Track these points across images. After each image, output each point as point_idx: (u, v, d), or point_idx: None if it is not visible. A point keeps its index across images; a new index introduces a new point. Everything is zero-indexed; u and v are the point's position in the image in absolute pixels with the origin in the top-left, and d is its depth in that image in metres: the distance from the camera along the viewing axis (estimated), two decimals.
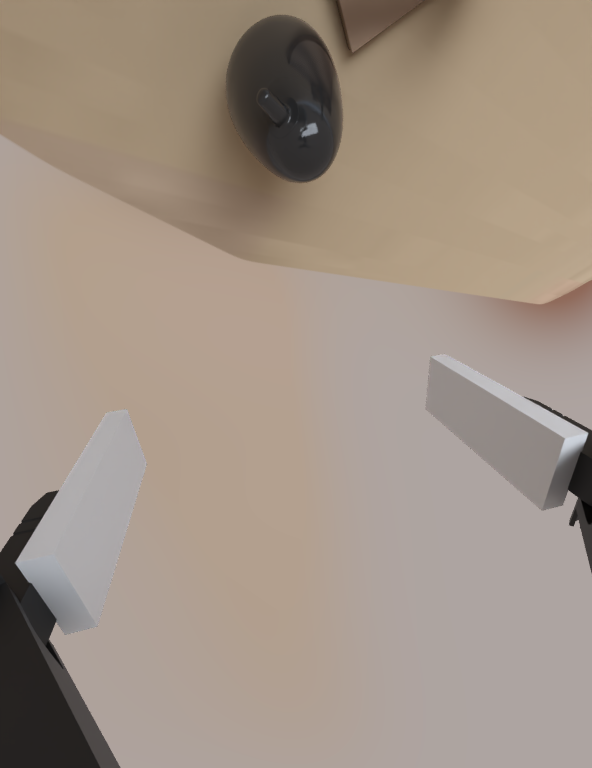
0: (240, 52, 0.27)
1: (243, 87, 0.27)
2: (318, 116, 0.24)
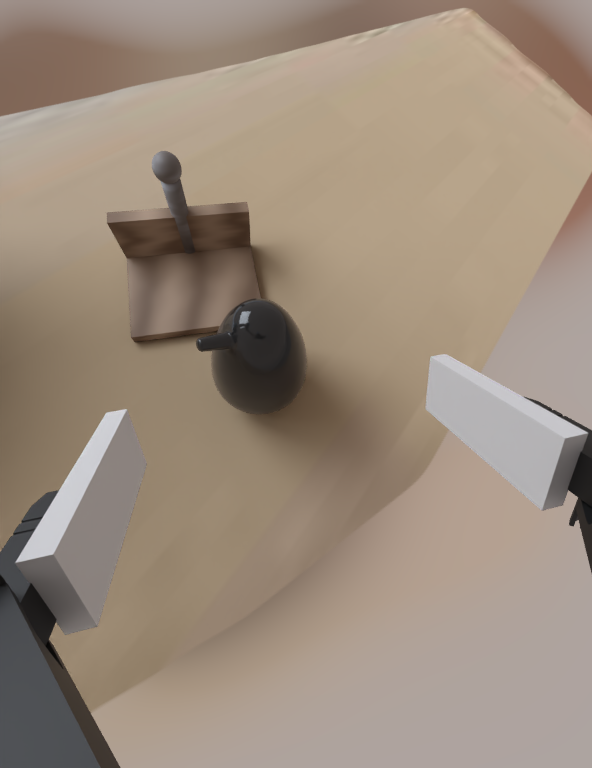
0: (216, 384, 0.34)
1: (223, 382, 0.31)
2: (234, 308, 0.28)
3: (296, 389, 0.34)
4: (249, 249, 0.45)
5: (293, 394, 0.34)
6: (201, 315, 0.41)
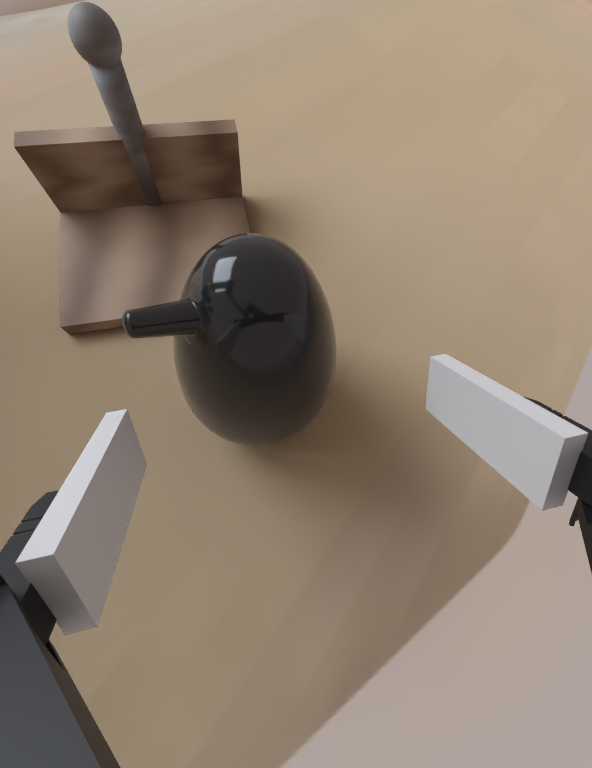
0: (185, 399, 0.20)
1: (193, 396, 0.18)
2: None
3: (320, 405, 0.20)
4: (240, 200, 0.32)
5: (315, 413, 0.21)
6: (170, 293, 0.28)
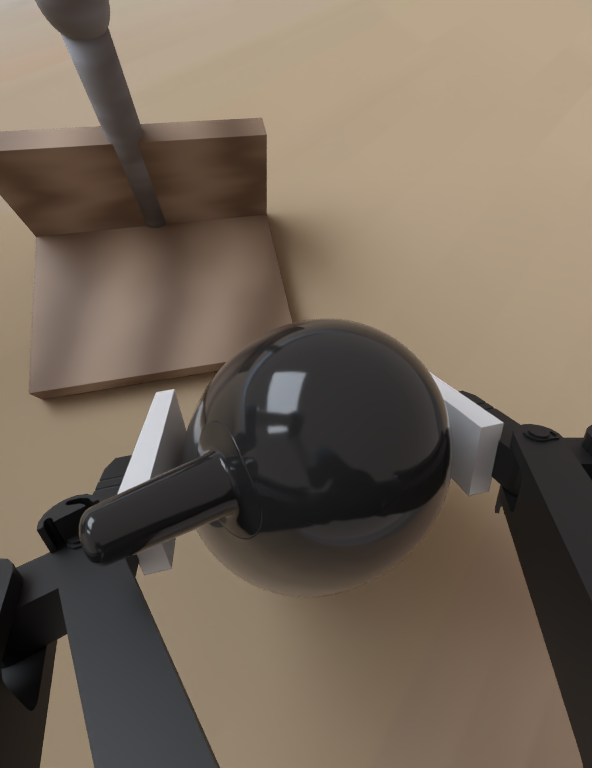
0: None
1: None
2: (246, 360, 0.07)
3: None
4: (264, 219, 0.25)
5: None
6: (175, 344, 0.21)
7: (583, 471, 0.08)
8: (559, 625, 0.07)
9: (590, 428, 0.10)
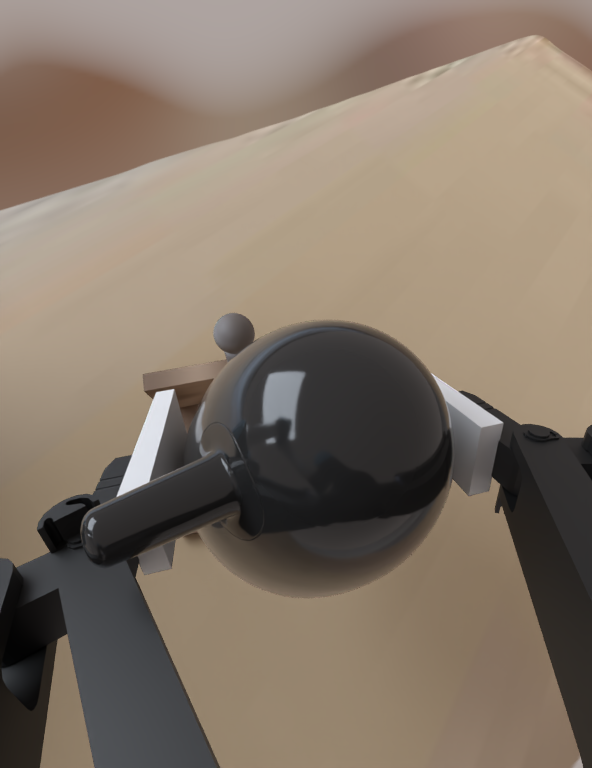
0: None
1: None
2: (248, 361, 0.07)
3: None
4: None
5: None
6: None
7: (583, 471, 0.08)
8: (559, 625, 0.07)
9: (590, 428, 0.10)
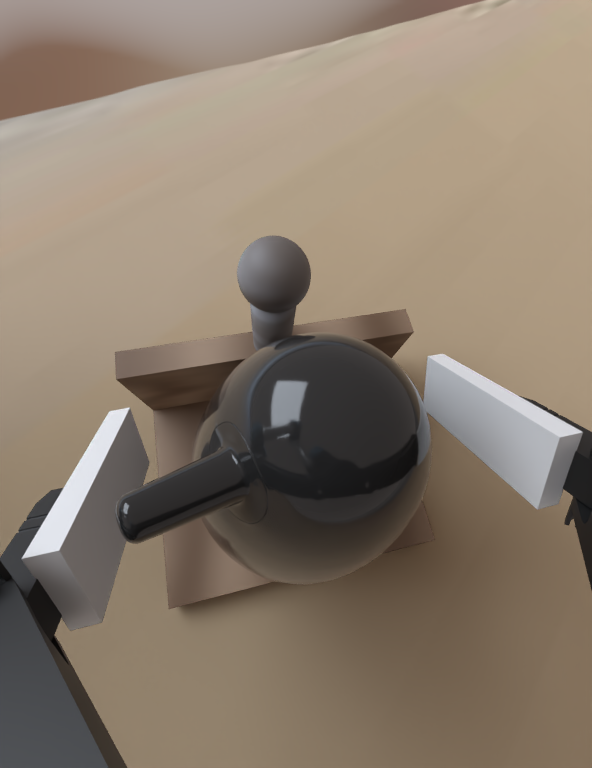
0: None
1: (220, 545, 0.12)
2: (252, 369, 0.09)
3: None
4: None
5: None
6: None
7: None
8: None
9: None
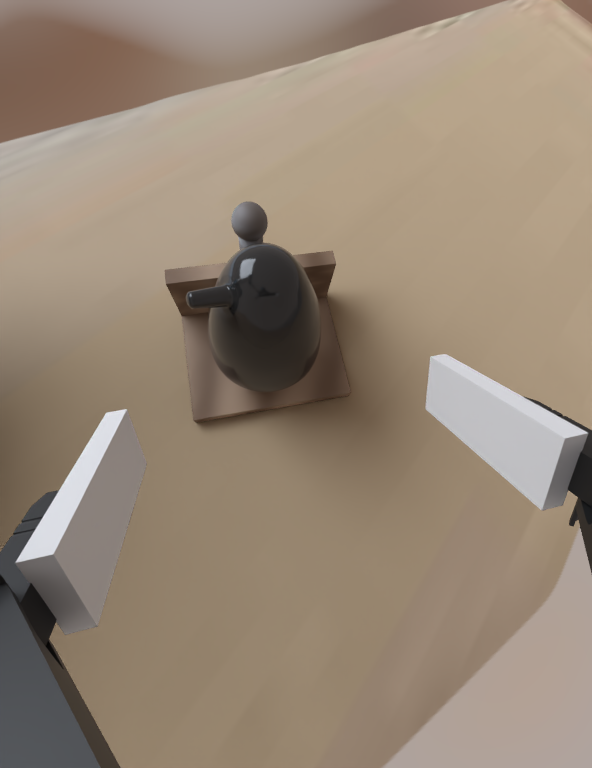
0: (214, 357, 0.29)
1: (222, 352, 0.26)
2: (234, 255, 0.22)
3: (309, 361, 0.29)
4: (325, 300, 0.38)
5: (306, 367, 0.29)
6: None
7: None
8: None
9: None
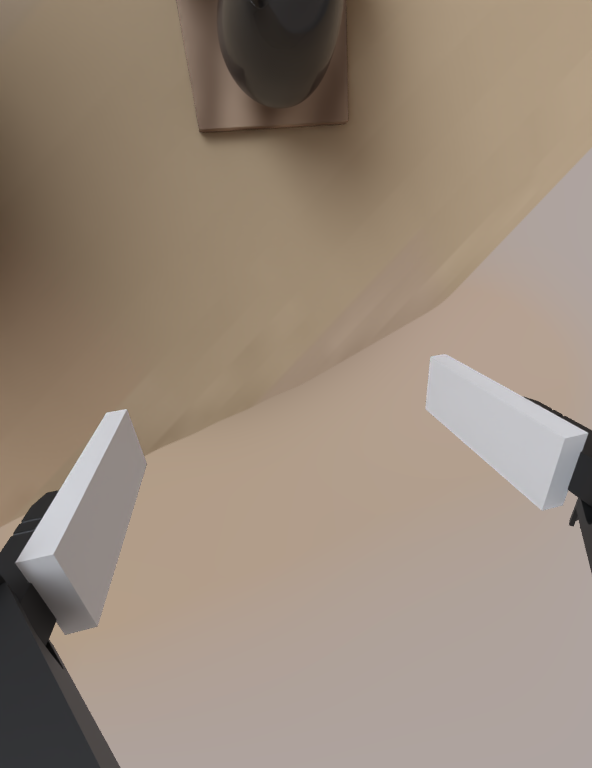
0: (225, 53, 0.28)
1: (240, 51, 0.26)
2: None
3: (320, 77, 0.29)
4: None
5: (315, 85, 0.30)
6: None
7: None
8: None
9: None
